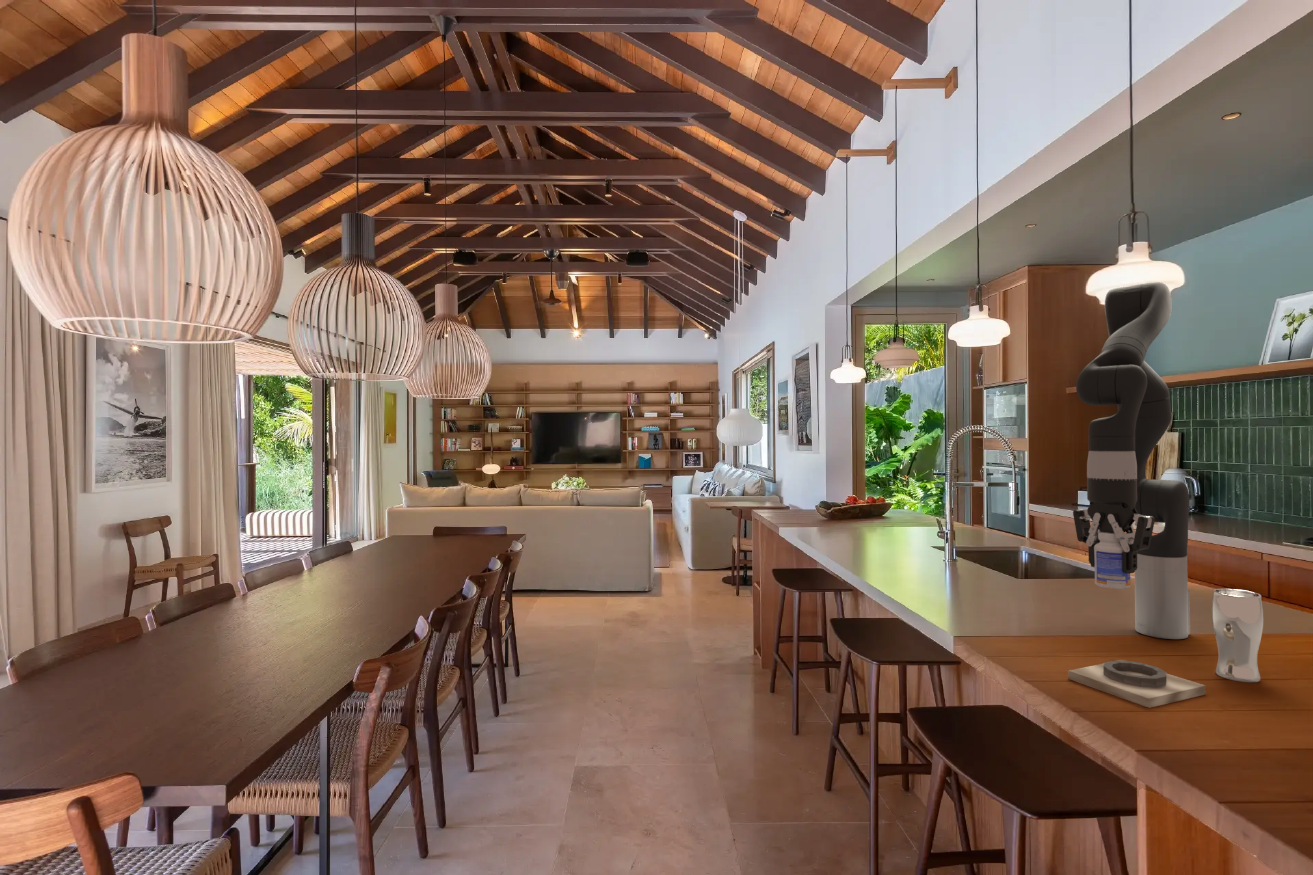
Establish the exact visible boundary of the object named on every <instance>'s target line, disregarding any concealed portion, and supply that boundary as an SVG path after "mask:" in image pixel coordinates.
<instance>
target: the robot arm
mask: <svg viewBox="0 0 1313 875" xmlns="http://www.w3.org/2000/svg"><path fill="white" fill-rule="evenodd" d="M1105 295H1106V296H1105V299H1104V314H1105V321H1106V327H1107V331H1108V332H1107V333H1108V338H1107V340H1106V341H1105V342H1104V344H1103V347H1102V348H1101V351H1100V354H1099V355H1098V356H1096V357H1095V358H1093V359H1092V361H1090V362H1089V363H1088V364H1087V365H1085V366H1084V367H1083V369H1082V371H1081V372H1080V373H1079V375H1078V378H1077V380H1076V383H1075V384H1076V385H1075V390H1076V394H1077V397H1078V398H1079V400H1080V401H1081V402H1082V403H1084V404H1087V405H1089V406H1109V405H1114V406H1115V405H1117V412H1116V413H1115V414H1113V415H1111V416H1106V417H1101V418H1097V419H1093V420H1091V421H1090V422H1089V425H1088V456H1087V461H1086V478H1087V480H1086V486H1087V487H1086V488H1087V490H1086V491H1087V492H1086V493H1087V494H1086V497H1087V498H1086V499H1087V501H1088V502H1089V505H1088V507H1087V509H1082V508H1081V509H1074V510H1073V511H1072V517H1073V521H1074V528H1075V531H1076V538H1077V541H1078V542H1079V543H1081V542H1083V543H1084V544H1086V546H1087V548H1088V563H1089V564H1090V567H1091V568H1095V562H1094V546H1095V545H1096V544H1097V543H1100V540H1099V539H1098V532H1111V533H1115V535H1116V538H1117V539H1118V540H1119V541H1120V543H1121V545H1122V548H1123V550H1124V551H1125V552H1122V571H1123V573H1130V574H1134V622H1135V623H1134V624H1135V625H1134V627H1135V628H1134V629H1135V631H1136V632H1137V633H1140V634H1142V635H1146V636H1149V637H1153V638H1158V639H1164V640H1165V639H1168V640H1183V639H1187V638H1189V635H1191V609H1190V608H1191V604H1190V602H1191V599H1190V597H1191V596H1190V595H1191V592H1190V590H1189V588H1188V587H1189V586H1188V585H1189V584H1188V542H1189V515H1190V492H1189V489H1188V487H1187V485H1186V484H1185V483H1184V482H1183V481H1181V480H1175V479H1147V475H1146V474H1147V472H1146V470H1147V463H1148V460H1149V458H1150V456H1151V454H1152V452H1153V450H1154V448H1155V447H1156V446H1157V444H1158V443H1159V442H1160V440H1161V439H1162V437H1163V436H1164V434H1165V433H1166V431H1167V430H1168V429H1169V426H1170V425H1171V421H1172V418H1173V417H1172V407H1171V406H1172V405H1171V394H1170V389H1169V387H1168V385H1167V383H1166V381H1164V379H1163V378H1162V377H1161V376H1160V375H1159V374H1158V373H1157V372H1156V371H1155V369H1153V368H1152V367H1151V365H1149V364H1148V363H1147V362H1146V361H1145V358H1146V355H1147V353H1148V349H1149V347H1150V346H1151V345H1152V343H1153V342H1155V339H1157V337H1159V336H1158V335H1159V334H1161V332H1162V330H1163V329H1164V328H1165V326H1166V325H1167V324H1168V322H1169V320H1170V318H1171V314H1172V310H1173V304H1172V303H1173V302H1172V300H1173V299H1172V294H1171V291H1170V289H1169V286H1168V285H1167V284H1166V283H1164V282H1160V281H1159V282H1158V281H1151V282H1150V281H1149V282H1145V283H1140V284H1139V283H1137V284H1133V285H1127V286H1122V287H1116V288H1112V289H1109V290H1108V292H1107V293H1106V294H1105ZM1090 520H1091V521H1092V522H1090ZM1155 523H1162V524H1163V523H1164V527H1163V530H1162V531H1161V532H1158V533H1156V534H1153V531H1154V528H1155V527H1154V526H1155ZM1133 525H1134V526H1136V528H1134V526H1133Z"/></svg>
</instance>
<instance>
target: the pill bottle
mask: <svg viewBox="0 0 1313 875" xmlns="http://www.w3.org/2000/svg"><path fill="white" fill-rule="evenodd" d="M1098 539H1099V540H1100V543H1097V544H1096V545H1095V546H1094V562H1095V567H1094V584H1095V585H1096V586H1098V587H1101V588H1106V589H1114V590H1115V589H1116V590H1127V589H1130V587H1131V573H1123V571H1122V552H1125V551H1124V550H1123V548H1122V545H1121V543H1120V541H1119V540H1118V539H1117V538H1116V535H1115V533H1111V532H1098Z"/></svg>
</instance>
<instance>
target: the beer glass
mask: <svg viewBox="0 0 1313 875" xmlns="http://www.w3.org/2000/svg"><path fill="white" fill-rule="evenodd" d="M1211 604H1212V606H1211V619H1212V626H1213V632H1214V636H1215V640H1216V645H1217V650H1218V659H1217V664H1216V669H1215V673H1216V675H1218V676H1219V677H1221V678H1224V679H1228V680H1231V681H1236V682H1242V683H1258V682H1260V681H1261V675H1260V671H1259V666H1258V654H1259V648H1260V645H1261V641H1262V640H1261V639H1262V635H1263V630H1264V609H1263V603H1262V595H1261V594H1260V593H1257V592H1254V591H1249V590H1246V589H1237V588H1236V589H1235V588H1215V589H1213V590H1212V602H1211Z"/></svg>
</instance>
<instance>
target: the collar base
mask: <svg viewBox="0 0 1313 875" xmlns="http://www.w3.org/2000/svg"><path fill="white" fill-rule="evenodd" d="M1067 672H1068V673H1067V676H1068V678H1067V679H1068V680H1070V681H1074V682H1077V683H1079V684H1081V685H1085V686H1087V687H1090V688H1093V689H1095V690H1097V691H1100V692H1104V693H1106V694H1109V695H1112V696H1114V697H1117V698H1119V699H1122V700H1123V699H1124V700H1126V701H1129V702H1130V703H1131V702H1132V703H1133V704H1137V705H1140V706H1143V707H1145V708H1149V709H1151V708H1154V707H1158V706H1163V705H1167V704H1170V703H1171V704H1172V703H1176V702H1179V701H1183V700H1188V699H1192V698H1196V697H1200V696H1204V695H1205V696H1206V694H1207V692H1206V690H1207V687H1206V686H1207V685H1206V684H1202V683H1199V682H1195V681H1193V680H1189V679H1185V678H1182V677H1179V676H1176V675H1173V674H1170V673H1167V672H1166V671H1165V670H1163V669H1162V668H1160V667H1159V666H1158V667H1157V666H1154V665H1151V664H1148V663H1144V662H1139V661H1138V662H1137V661H1130V660H1124V659H1118V660H1109V661H1105V662H1104V663H1099V664H1095V665H1089V666H1085V667H1080V668H1075V669H1074V668H1073V669H1068V671H1067Z"/></svg>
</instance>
